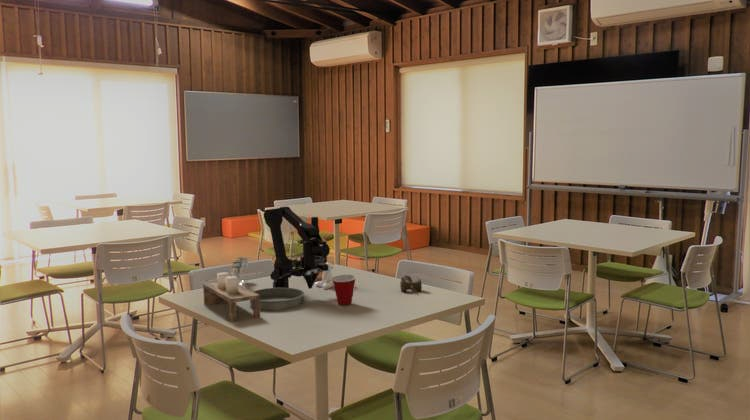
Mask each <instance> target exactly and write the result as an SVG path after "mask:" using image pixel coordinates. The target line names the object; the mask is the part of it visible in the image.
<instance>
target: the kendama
mask: <svg viewBox="0 0 750 420" xmlns="http://www.w3.org/2000/svg"><path fill="white" fill-rule="evenodd" d="M421 280H422V279H420V278H417V279H416V280H415V281H413V280H412V277H411V276H410V275H403V276H402V277H401V279H400V283H399V287H400V291H401V293H404V292H406V291H408V290H415V291H417V292H422V287H423V286H422V281H421Z"/></svg>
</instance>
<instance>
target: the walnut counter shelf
mask: <svg viewBox="0 0 750 420" xmlns="http://www.w3.org/2000/svg"><path fill="white" fill-rule="evenodd" d="M202 285H203V287H202V289H203V305H205V306H207V305H214V304H218V303H220V304H221V303H229V304H228V306H229V307H228V310H229V312H228V313H229V321H230V322H232V323H233V322H237V303H238V302H239V303H240V302H245V301H250V300H253V308H252V309H253V310H252V311H253V314H252V315H253V317H254V318H259V317H261V309H260V295H259V294H257V293H254V292H253V291H252V290H250V289H249V288H246V287H245V286H244V287H242V286H243V285H241V286H240V285H238V292H237V293H226V289H219V288H218V283H217V282H208V283H203V284H202Z"/></svg>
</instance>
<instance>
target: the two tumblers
mask: <svg viewBox="0 0 750 420" xmlns="http://www.w3.org/2000/svg"><path fill="white" fill-rule="evenodd" d="M216 277H217V280H216V281H217V283H218V288H219V289H226V293H237V292H238V277H237V276H232V275H230V272H226V271H225V272H224V271H223V272H218V273H217V274H216Z"/></svg>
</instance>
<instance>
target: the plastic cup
mask: <svg viewBox="0 0 750 420" xmlns="http://www.w3.org/2000/svg"><path fill="white" fill-rule="evenodd" d="M331 279H332V281H333V283H334V287H333V288H334V291H335V296H336V300H337V304H338V305H339V306H350V305H351V304H352V303H353V296H354V288H355V283H356V279H357V275H354V274H347V273H346V274H345V273H344V274H337V275H334V276H332V278H331Z"/></svg>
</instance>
